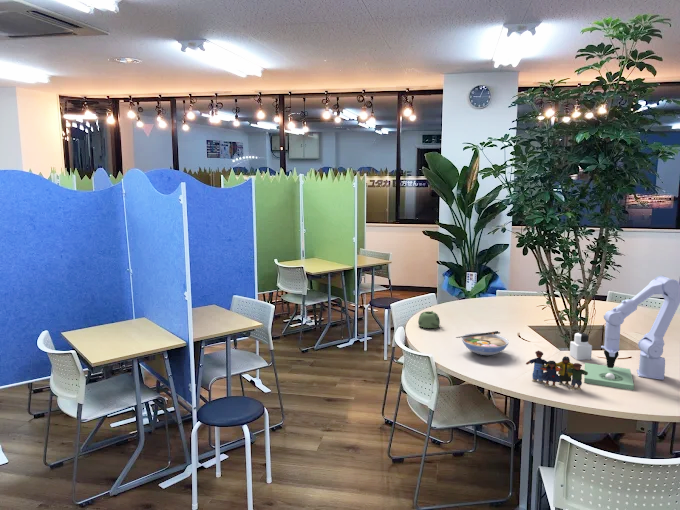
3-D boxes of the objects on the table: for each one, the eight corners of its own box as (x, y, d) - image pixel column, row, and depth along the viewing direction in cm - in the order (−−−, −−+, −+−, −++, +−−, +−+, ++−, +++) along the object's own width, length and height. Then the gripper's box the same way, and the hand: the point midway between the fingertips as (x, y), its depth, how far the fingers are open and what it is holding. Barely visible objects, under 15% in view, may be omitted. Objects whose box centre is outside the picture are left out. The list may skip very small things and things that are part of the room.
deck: (629, 373, 216) (630, 369, 216) (633, 390, 198) (633, 385, 198) (584, 366, 224) (584, 362, 224) (584, 382, 206) (584, 378, 206)
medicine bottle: (583, 354, 240) (585, 331, 238) (591, 359, 233) (592, 335, 231) (569, 355, 240) (570, 331, 238) (576, 360, 233) (578, 336, 231)
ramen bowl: (474, 364, 229) (474, 347, 228) (450, 348, 251) (451, 333, 250) (520, 358, 236) (520, 342, 235) (493, 344, 257) (493, 329, 256)
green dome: (437, 330, 283) (437, 316, 282) (415, 328, 288) (415, 314, 287) (442, 323, 297) (443, 309, 296) (422, 321, 302) (422, 307, 301)
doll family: (527, 386, 204) (528, 355, 202) (524, 377, 212) (526, 348, 210) (587, 391, 198) (589, 359, 196) (582, 382, 206) (584, 352, 205)
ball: (616, 382, 207) (614, 374, 208) (615, 380, 204) (613, 371, 206) (606, 382, 208) (605, 374, 210) (605, 380, 206) (604, 372, 207)
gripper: (601, 332, 222) (599, 360, 224) (602, 341, 209) (600, 371, 211) (619, 334, 218) (617, 363, 220) (621, 343, 206) (619, 374, 208)
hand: (610, 367), depth 215 cm, fingers closed
